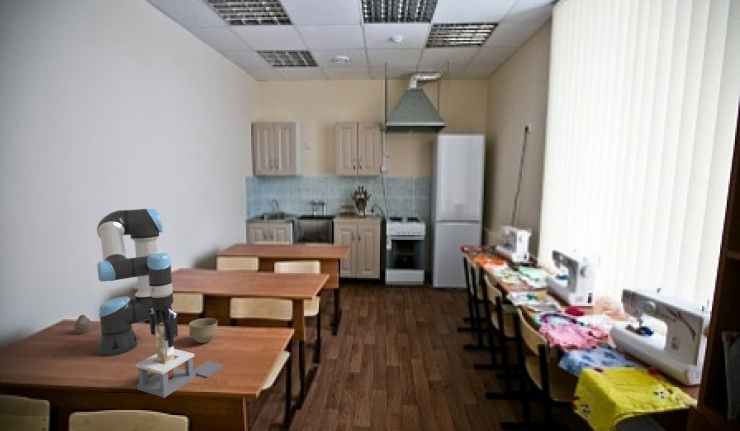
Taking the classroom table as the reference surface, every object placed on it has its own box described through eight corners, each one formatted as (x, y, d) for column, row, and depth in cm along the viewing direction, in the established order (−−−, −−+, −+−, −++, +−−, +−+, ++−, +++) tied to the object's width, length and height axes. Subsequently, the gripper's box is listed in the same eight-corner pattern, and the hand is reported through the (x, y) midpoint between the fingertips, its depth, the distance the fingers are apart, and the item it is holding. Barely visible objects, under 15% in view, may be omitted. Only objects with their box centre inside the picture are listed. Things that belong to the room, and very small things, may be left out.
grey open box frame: (137, 389, 133) (135, 364, 132) (170, 370, 146) (169, 347, 145) (164, 397, 128) (162, 371, 127) (195, 377, 141) (194, 353, 140)
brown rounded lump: (71, 334, 180) (69, 318, 179) (84, 328, 186) (82, 312, 185) (82, 335, 178) (81, 318, 178) (95, 329, 185) (93, 313, 184)
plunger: (158, 383, 136) (157, 370, 135) (168, 377, 140) (167, 364, 139) (166, 385, 134) (165, 372, 134) (176, 379, 138) (175, 366, 138)
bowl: (224, 339, 174) (223, 319, 173) (199, 349, 164) (198, 329, 162) (208, 333, 181) (207, 314, 180) (184, 343, 170) (183, 323, 169)
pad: (190, 373, 144) (190, 371, 144) (208, 362, 152) (207, 361, 152) (207, 377, 141) (207, 376, 141) (224, 366, 149) (224, 365, 149)
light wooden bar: (158, 370, 135) (154, 325, 133) (167, 365, 139) (164, 321, 137) (165, 372, 134) (162, 326, 132) (174, 366, 137) (171, 322, 135)
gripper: (136, 295, 133) (140, 354, 135) (168, 300, 127) (173, 362, 129) (154, 289, 140) (158, 345, 142) (186, 294, 133) (190, 352, 136)
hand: (165, 353), depth 136 cm, fingers closed on light wooden bar, 4 cm apart
